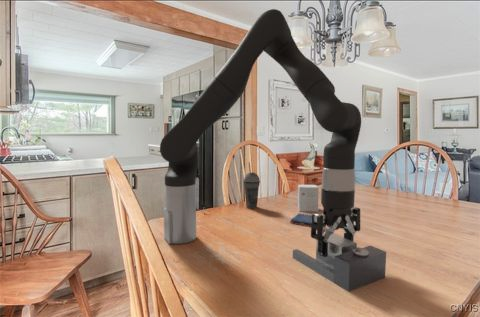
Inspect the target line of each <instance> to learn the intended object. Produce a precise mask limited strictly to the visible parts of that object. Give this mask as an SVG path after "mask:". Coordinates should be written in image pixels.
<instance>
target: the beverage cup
mask: <svg viewBox="0 0 480 317" xmlns="http://www.w3.org/2000/svg"><path fill="white" fill-rule="evenodd" d="M248 171H249V172H247V174H245V176H244V177H243V186H244V196H245V206H246V209H251V210H253V209H254V210H255V209H257V208H258V198H259V187H260V183H261V180H260V177H259V175H258V174H257V173H256V172H251V164H250V162H248Z"/></svg>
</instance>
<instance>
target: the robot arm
mask: <svg viewBox="0 0 480 317" xmlns="http://www.w3.org/2000/svg"><path fill="white" fill-rule="evenodd" d="M263 52H265V54H267V55H268V56H269V57H271V58H272V59H273V60H274V61H275V62H276V63H277V64H279V65H280V66H281V67H282V69H283V70H284V71H285V72H286V74H288V76H289V77H290V79H291V80H292V82H293V84H294V85H295V87H296V88H297V89H298V90H299V92H300V93H301V94H302V96H303V97H304V98H305V100H306V101H307V102H308V103H309V106H310V109H311V111H312V112H313V115H314V117H315V120H316V121H317V123H318V124H319V125H320V127H321V128H322V129H324V130H326V131H327V132H329V133H332V134H331V139H330V142H329V143H327V144H326V145H324V149H323V155H322V156H323V158H322V161H323V162H322V164H323V165H322V166H323V168H322V172H321V188H320V189H321V196H320V197H321V198H320V203H321V205H322V207H323V210H322V213H317V212H312V214H311V215H312V224H311V227H310V228H311V229H310V237H311V239H314V240H318V253H319V255H321V256H323V257H327V256H328V242H327V240H328V238H329V237H330V235H331V234H333V233H334V234H335V231H337V230H339V229H342V230H343V232H344V233H343V238H346V239H348V240H350V241H353V242H354V237H355V234H356V232H360V231H361V208H359V207H356V206H355V193H356V190H355V188H356V175H355V174H356V173H355V165H356V164H355V162H356V161H355V157H356V153H355V152H356V147H357V143H358V141H359V137H360V132H361V128H362V115H361V111H360V110H359V108H358V106H356V105H355V104H354V103H351V102H345V101H341V100H340V99H339V97H338V96H336V94H335V93H336V88H335V85H334V84H333V83H332V81H331V80H330V79H329V78H328V76H327V75H326V74H325V73H324V72H323V71H322V69H321V68H320V67H319V66H318V65H316V63H315V62H313V61H311V59H309V58H308V57H306V56H305V55H304V54H303V53H302V51H301V50H300V49H299V47H298V45H297V43H296V42H295V40H294V37H293V35H292V31H291V29H290V27H289V24H288V21H287V20H286V18H285V16H284V13H283V12H282V11H280V10H278V9H275V8H272V9H268V10H266V11H264V12H263V13H262V14H261V15H259V16H258V18H257V19H255V21H254V22H253V23H252V25H251V26H250V28H249V29H248V31H247V32H246V34H245V36H244V37H243V39H242V40H241V42H240V43H239V45H238V46H237V48H236V49H235V51H233V53H231V56H230V57H229V58H228V59H227V61H226V62H225V64H224V65H223V66H222V67H221V69H220V70H219V71H218V72H217V73H216V75H215V76H214V77H213V78H212V79H211V80H210V81H209V83H208V84H207V85H206V87H205V88H204V90H203V91H202V92H201V93H200V95H199V96H198V97H197V98H196V99H195V101H194V102H193V104H192V105H191V107H190V108H189V109H188V111H187V112H186V113H185V114H184V116H183V117H182V118H181V119H180V120H179V121H178V122H177V123H176V124H174V126H173V127H172V128H171V129H170V130H169V131H168V132H167V133H166V134H165V135H164V136H163V138H161V142H160V144H159V152H160V154H161V157H162V159H164V160H165V161H166V162H168V168H167V171H166V173H165V175H164V199H165V200H164V201H165V204H164V208H163V227H164V228H163V229H164V239H165V241H166V243H167V244H169V245H173V244H175V245H176V244H177V245H179V244H180V245H182V244H189V243H191V242H193V241H195V240H196V239H197V194H196V193H197V192H196V190H197V189H196V187H197V186H196V181H197V178H196V177H197V173H198V144H197V142H199V139H200V138H201V137H202V136H203V134H204V133H205V132H206V131H207V130H208V129H209V128H210V127H211V126H213V125H214V124H215V123H217V121H219V119H221V118H222V117H223V116H225V115H226V114H227V113H228V112H229V111H230V110H231V109H232V107H233V106H234V105H235V104H236V103H237V102H238V100H239V99H240V98H241V97H242V95H243V94H244V91H245V90H246V87H247V84H248V83H249V82H248V81H249V79H250V75H251V72H252V69H253V67H254V65H255V63H256V61H257V60H258V58H259V57H260V56H261V55H262V54H263ZM323 234H325V235H324V236H322V235H323Z"/></svg>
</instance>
